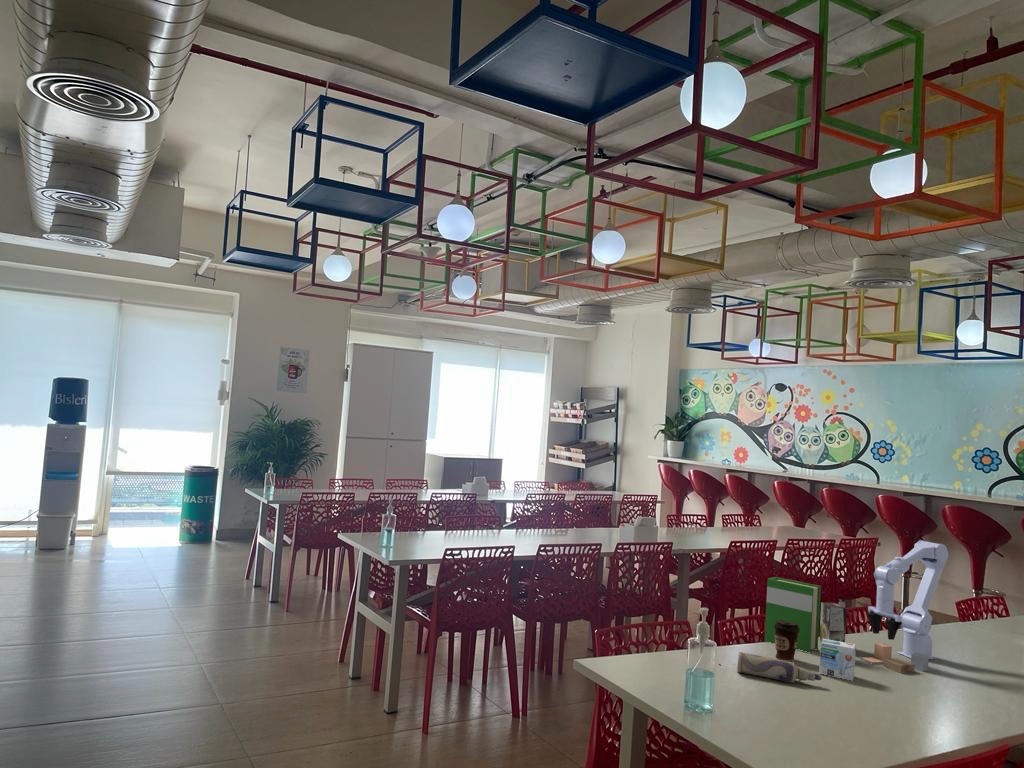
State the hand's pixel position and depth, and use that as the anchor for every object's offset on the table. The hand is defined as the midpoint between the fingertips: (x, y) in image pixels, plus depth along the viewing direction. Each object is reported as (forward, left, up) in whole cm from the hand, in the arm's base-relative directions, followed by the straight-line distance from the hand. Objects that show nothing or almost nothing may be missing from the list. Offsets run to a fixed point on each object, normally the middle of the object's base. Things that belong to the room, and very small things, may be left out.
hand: (883, 636), depth 271 cm
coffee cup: (+42, 0, -8) cm, 43 cm away
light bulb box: (+34, +17, -8) cm, 39 cm away
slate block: (-5, +12, -8) cm, 15 cm away
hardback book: (+28, -16, -8) cm, 33 cm away
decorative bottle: (+60, +20, -9) cm, 64 cm away
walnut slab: (+4, +12, -9) cm, 15 cm away
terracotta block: (0, 0, -8) cm, 8 cm away
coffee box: (+11, -14, -8) cm, 20 cm away
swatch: (+7, +3, -8) cm, 11 cm away
